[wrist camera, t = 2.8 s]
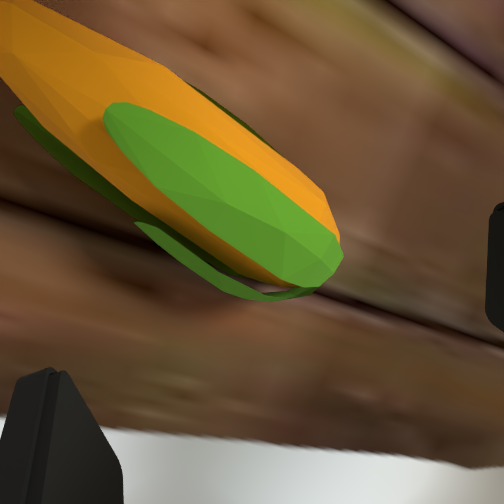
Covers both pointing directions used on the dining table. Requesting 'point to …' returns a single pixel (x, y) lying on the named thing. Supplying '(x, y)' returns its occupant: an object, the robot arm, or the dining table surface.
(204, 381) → the dining table surface
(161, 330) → the dining table surface
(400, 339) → the dining table surface
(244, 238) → the corn
